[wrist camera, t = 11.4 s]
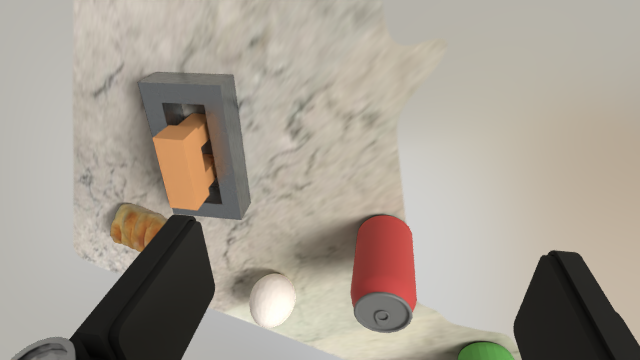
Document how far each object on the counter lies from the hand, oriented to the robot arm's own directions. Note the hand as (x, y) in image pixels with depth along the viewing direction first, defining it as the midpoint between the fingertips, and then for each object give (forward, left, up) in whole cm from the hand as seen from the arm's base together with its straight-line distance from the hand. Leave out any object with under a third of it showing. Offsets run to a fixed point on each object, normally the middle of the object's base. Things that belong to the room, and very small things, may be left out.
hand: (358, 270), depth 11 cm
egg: (+32, -12, -28) cm, 44 cm away
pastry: (+24, -30, -29) cm, 48 cm away
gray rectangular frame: (+11, -19, -28) cm, 36 cm away
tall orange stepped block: (+11, -19, -28) cm, 36 cm away
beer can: (+22, +2, -28) cm, 36 cm away
